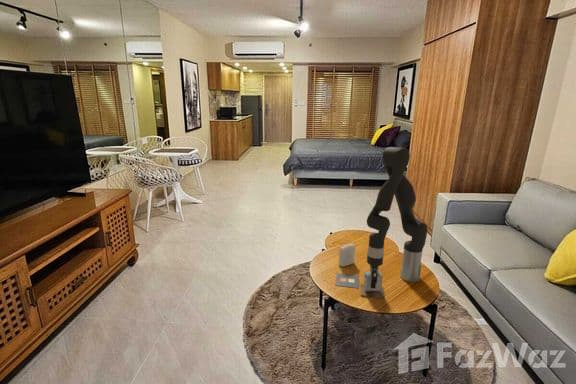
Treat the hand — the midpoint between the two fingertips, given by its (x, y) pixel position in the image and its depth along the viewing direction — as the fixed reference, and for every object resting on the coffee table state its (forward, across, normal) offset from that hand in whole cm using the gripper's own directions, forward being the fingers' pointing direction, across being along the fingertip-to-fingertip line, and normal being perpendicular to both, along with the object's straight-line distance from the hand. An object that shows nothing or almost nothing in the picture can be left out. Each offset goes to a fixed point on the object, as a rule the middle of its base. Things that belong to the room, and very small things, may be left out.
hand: (372, 284), depth 155 cm
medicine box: (+3, 0, 0) cm, 3 cm away
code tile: (+4, +8, +12) cm, 15 cm away
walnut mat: (+4, 0, 0) cm, 4 cm away
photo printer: (+5, +26, +14) cm, 30 cm away
